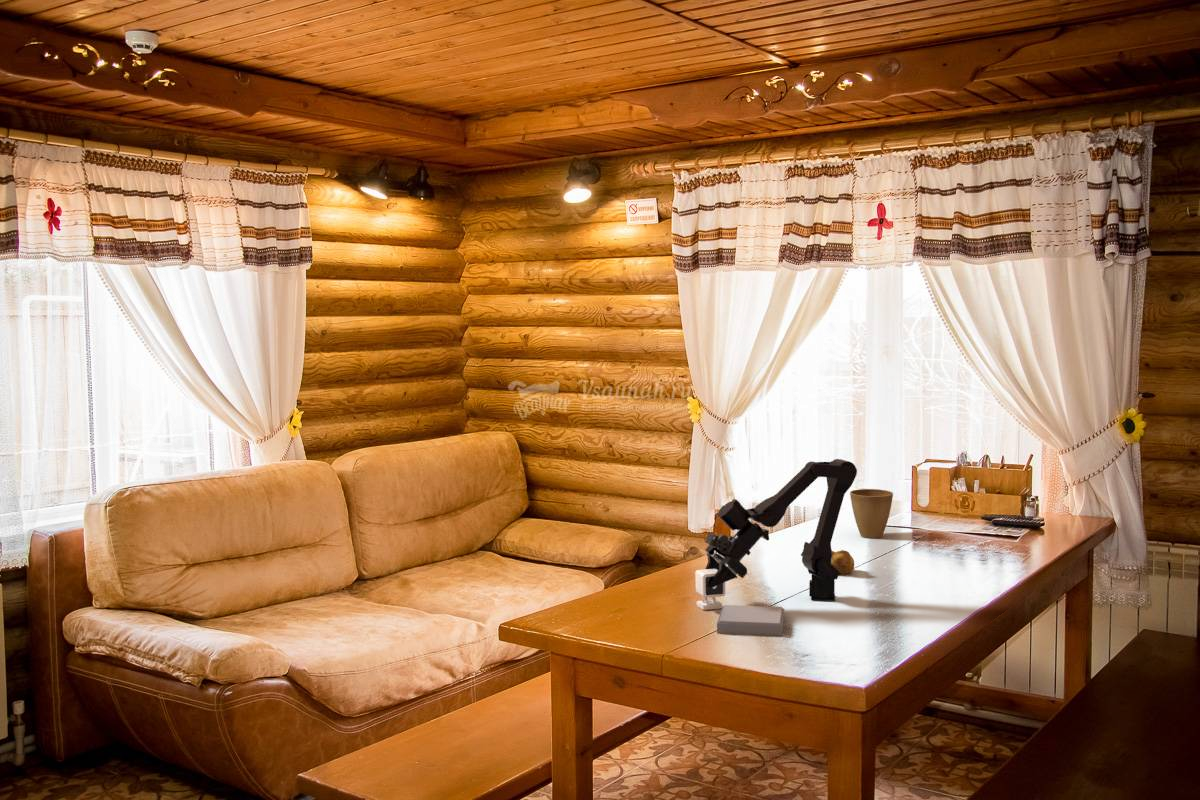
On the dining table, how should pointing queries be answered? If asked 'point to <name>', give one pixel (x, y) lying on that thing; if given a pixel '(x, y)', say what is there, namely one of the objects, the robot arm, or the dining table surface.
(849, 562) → the bread roll
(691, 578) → the dining table surface
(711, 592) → the security camera
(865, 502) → the plant pot
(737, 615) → the grey square slab
